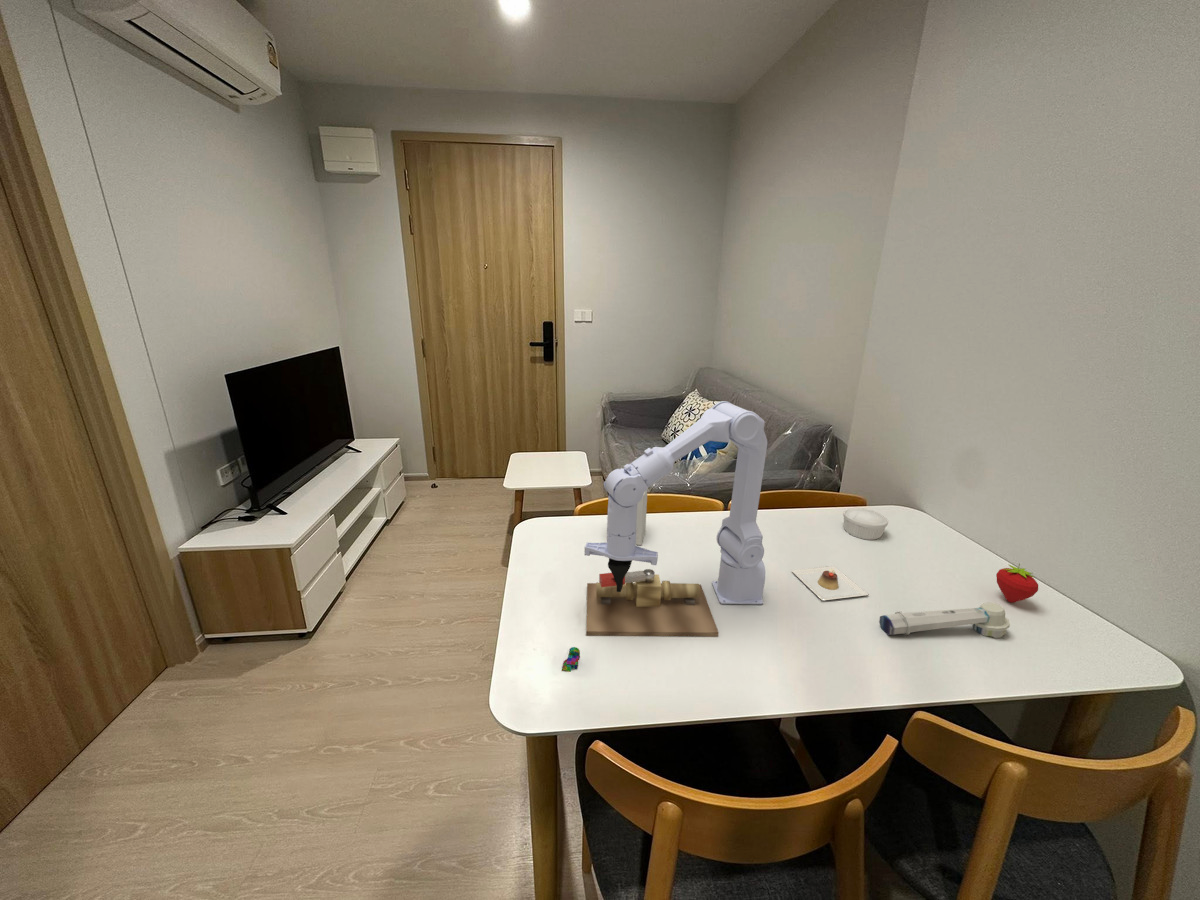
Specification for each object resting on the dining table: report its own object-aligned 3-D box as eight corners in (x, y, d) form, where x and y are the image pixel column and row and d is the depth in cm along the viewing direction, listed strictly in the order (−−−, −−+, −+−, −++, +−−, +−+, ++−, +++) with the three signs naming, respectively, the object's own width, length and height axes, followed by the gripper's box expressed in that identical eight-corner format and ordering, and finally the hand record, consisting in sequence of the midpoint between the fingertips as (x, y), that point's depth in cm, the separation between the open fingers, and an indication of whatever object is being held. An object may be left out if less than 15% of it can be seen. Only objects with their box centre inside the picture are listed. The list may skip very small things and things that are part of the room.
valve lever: (652, 575, 101) (652, 567, 101) (655, 581, 99) (656, 573, 99) (599, 581, 99) (599, 573, 98) (601, 587, 97) (601, 579, 96)
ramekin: (835, 522, 142) (838, 506, 140) (874, 525, 140) (878, 509, 139) (848, 540, 131) (852, 523, 130) (891, 544, 130) (895, 526, 128)
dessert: (821, 604, 104) (825, 586, 103) (790, 574, 115) (793, 557, 114) (868, 599, 107) (872, 581, 105) (833, 569, 118) (836, 552, 116)
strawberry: (1019, 615, 102) (1033, 575, 98) (982, 594, 108) (995, 556, 105) (1037, 610, 103) (1052, 570, 100) (1000, 590, 110) (1013, 552, 107)
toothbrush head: (878, 608, 97) (998, 593, 97) (875, 634, 99) (993, 619, 99) (894, 625, 92) (1020, 609, 92) (891, 652, 94) (1015, 637, 94)
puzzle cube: (564, 656, 88) (564, 646, 87) (579, 658, 87) (579, 647, 87) (560, 673, 84) (560, 662, 83) (576, 675, 83) (576, 664, 83)
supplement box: (646, 530, 134) (649, 481, 129) (641, 546, 125) (644, 494, 121) (614, 526, 136) (616, 478, 131) (608, 541, 127) (610, 490, 123)
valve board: (700, 588, 108) (702, 565, 106) (718, 636, 93) (721, 611, 91) (587, 586, 108) (587, 564, 106) (586, 635, 92) (586, 609, 90)
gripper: (661, 524, 94) (657, 583, 99) (590, 516, 97) (590, 573, 102) (656, 541, 88) (652, 603, 92) (581, 532, 91) (581, 592, 95)
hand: (619, 589), depth 96 cm, fingers closed, pressing on valve lever
